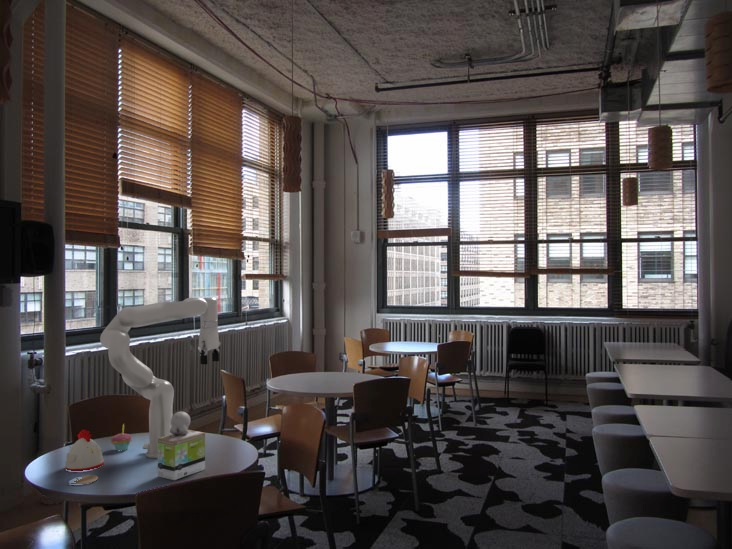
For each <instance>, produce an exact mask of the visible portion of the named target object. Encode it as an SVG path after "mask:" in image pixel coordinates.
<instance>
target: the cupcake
mask: <svg viewBox="0 0 732 549" xmlns="http://www.w3.org/2000/svg"><path fill="white" fill-rule="evenodd" d="M131 442H132V436H131V435H130V434H129V433H125V423H123V424H122V429H121V433H118V434H115V435H113V436H112V437H111V438H110V443H111V444H112V445H113V446H114V448H115V451H116V450H120V451H119V452H122V451H121V450H125V451H127V450H128V449H129V446H130V443H131ZM126 449H127V450H126Z"/></svg>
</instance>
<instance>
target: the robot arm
mask: <svg viewBox="0 0 732 549" xmlns="http://www.w3.org/2000/svg"><path fill="white" fill-rule="evenodd" d="M218 313H219V312H218V300H217V298H216V297H187V298H185V299H184V300H182V301H180V300H179V301H160V302H156V303H155V302H154V303H149V304H143V305H139V306H138V305H137V306H126V307H122V309H121V310H120V311H118V313H117V314H115V316H113V318H112V320H111V321H110V322H109V323H108V324H107V326H106V327H105V329H103V331H102V333H101V334H100V337H99V340H100V343H101V344H100V345H102V347H104V348H105V349H107V350H108V355H107V356H108V360H109V363H110V365H111V366H112V368H113V369H115V370H116V371H117V372H118V373H120V374H121V377H122V380H123V382H124V383H125V384H126V385H127V386H128V387H130V388H131V389H133V391H135V392H136V393H138V394H139V395H140V396H142V397H143V398H145V399H147V400H149V401H150V403H149V409H148V431H149V434H148V435H149V443H148V442H144V444H143V446H142V449H143V450H147V451H146V453H145V457H146V458H149V459H158V438H160V437H164V436H168V435H171V434H172V433H170V429H171V427H172V426H171V418H172V416H173V415H174V414H173V412H174V411H173V405H174V398H175V397H174V395H175V389H174V386H173V385H172V383H171V382H170V381H168V380H166V379H161V378H158V377H156V376H154V373H153V370H152V369H151V368H150V367H149V366H147V365H145V363H143V362H142V361H141V360H140V359H138V358H137V357H136V356H135V355H133V353H132V352H131V350H130V346H131V344H130V343H131V339H130V335H129V331H130V330H131V328H139V327H145V326H150V325H155V324H159V323H160V324H161V323H165V322H166V323H167V322H172V321H175V320H182V319H188V318H192V317H193V318H195V317H198V316H200V328H199V334H198V346H197V350H198V353H199V356H200V364H201V365H208V360H209V359H208V355H207V354H208V352H209V351H212V353H211V354H212V355H211V356H212V357H211V358H212V362H219V361H220V351H221V350H220V349H221V344H222V343H221V341H220V339H219V338H220V337H219V336H220V335H219V330H218V328H219V324H218V323H219V322H218V320H219V318H218Z"/></svg>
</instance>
